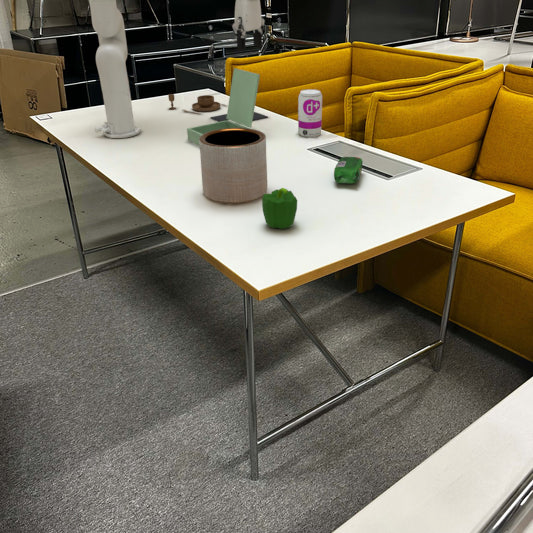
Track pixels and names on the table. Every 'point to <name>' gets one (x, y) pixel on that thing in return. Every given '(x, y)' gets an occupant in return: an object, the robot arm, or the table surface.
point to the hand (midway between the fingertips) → (249, 48)
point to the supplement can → (309, 113)
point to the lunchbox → (209, 129)
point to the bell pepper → (279, 208)
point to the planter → (233, 164)
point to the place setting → (200, 103)
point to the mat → (223, 118)
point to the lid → (243, 97)
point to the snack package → (348, 170)
